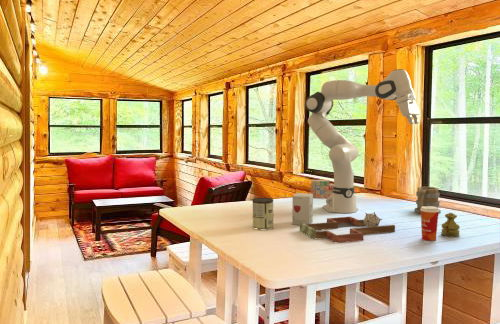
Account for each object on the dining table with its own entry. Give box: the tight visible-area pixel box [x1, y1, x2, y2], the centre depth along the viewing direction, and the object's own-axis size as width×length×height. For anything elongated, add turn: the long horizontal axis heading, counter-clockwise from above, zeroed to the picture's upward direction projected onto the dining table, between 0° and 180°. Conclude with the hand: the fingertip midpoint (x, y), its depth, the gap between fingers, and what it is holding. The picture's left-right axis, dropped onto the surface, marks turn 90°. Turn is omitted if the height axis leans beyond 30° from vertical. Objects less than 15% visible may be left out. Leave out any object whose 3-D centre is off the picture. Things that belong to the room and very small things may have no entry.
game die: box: [361, 211, 383, 227], centre depth 203 cm, size 9×8×10 cm
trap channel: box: [299, 216, 396, 243], centre depth 199 cm, size 32×42×4 cm
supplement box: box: [291, 192, 314, 226], centre depth 215 cm, size 9×9×15 cm
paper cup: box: [420, 206, 440, 242], centre depth 184 cm, size 8×8×14 cm
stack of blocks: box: [310, 179, 334, 200], centre depth 290 cm, size 21×6×12 cm, turn 81°
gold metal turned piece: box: [440, 212, 461, 238], centre depth 191 cm, size 7×8×10 cm
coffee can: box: [251, 197, 274, 230], centre depth 207 cm, size 10×10×14 cm
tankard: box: [414, 186, 441, 215], centre depth 238 cm, size 20×13×15 cm, turn 135°
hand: (414, 124), depth 219 cm, fingers open, 8 cm apart
